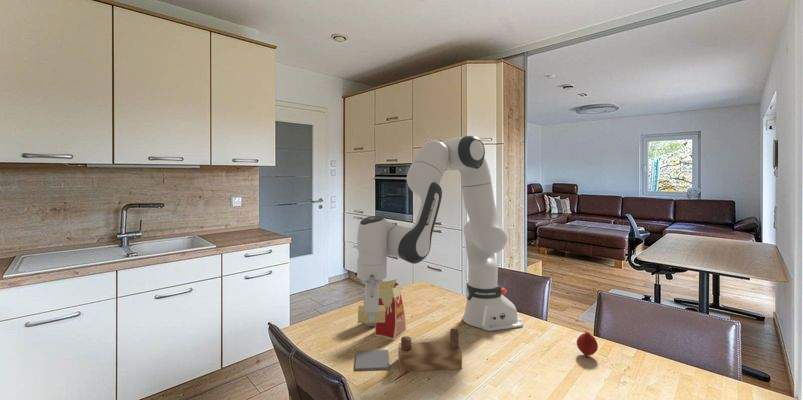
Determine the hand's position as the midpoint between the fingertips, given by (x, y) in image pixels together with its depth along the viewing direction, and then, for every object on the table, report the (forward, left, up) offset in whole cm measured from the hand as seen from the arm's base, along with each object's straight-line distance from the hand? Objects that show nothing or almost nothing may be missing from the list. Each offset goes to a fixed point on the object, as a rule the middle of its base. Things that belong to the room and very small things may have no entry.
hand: (371, 316), depth 107 cm
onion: (-67, +2, -14) cm, 69 cm away
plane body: (-17, +3, -14) cm, 22 cm away
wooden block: (0, 0, -1) cm, 1 cm away
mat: (0, 0, -14) cm, 14 cm away
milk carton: (-6, -18, -14) cm, 24 cm away
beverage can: (0, -26, -14) cm, 30 cm away
